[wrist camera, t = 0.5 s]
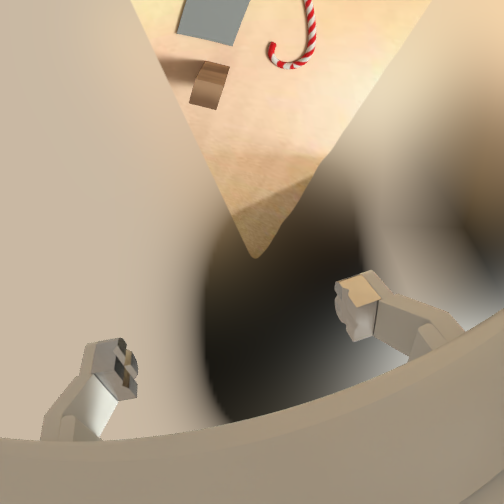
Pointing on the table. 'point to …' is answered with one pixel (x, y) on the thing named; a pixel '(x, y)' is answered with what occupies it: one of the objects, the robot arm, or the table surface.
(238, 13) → the slate mat
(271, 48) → the candy cane
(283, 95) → the table surface
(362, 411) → the robot arm
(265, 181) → the table surface
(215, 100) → the walnut block
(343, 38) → the table surface
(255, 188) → the table surface
